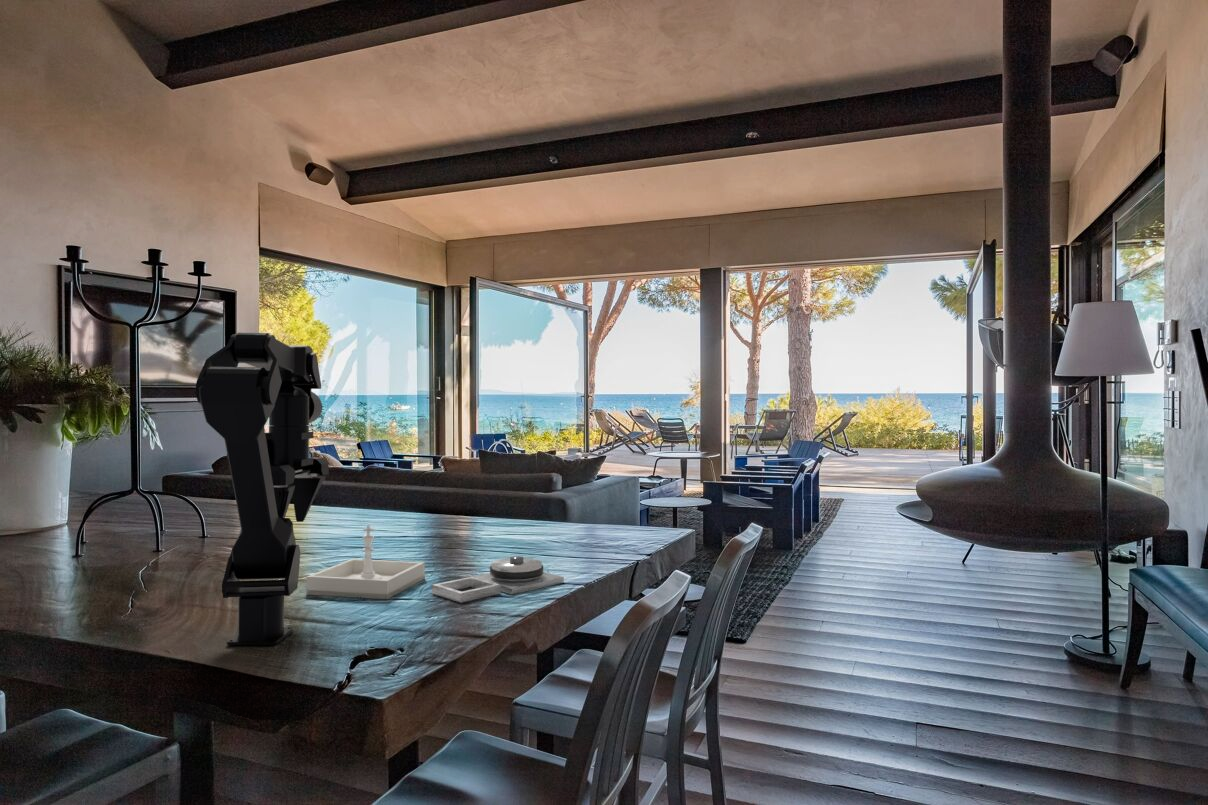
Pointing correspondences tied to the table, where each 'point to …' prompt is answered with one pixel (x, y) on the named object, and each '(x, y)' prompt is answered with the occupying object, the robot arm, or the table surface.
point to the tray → (346, 585)
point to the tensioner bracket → (499, 580)
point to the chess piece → (368, 556)
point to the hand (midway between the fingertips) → (288, 526)
